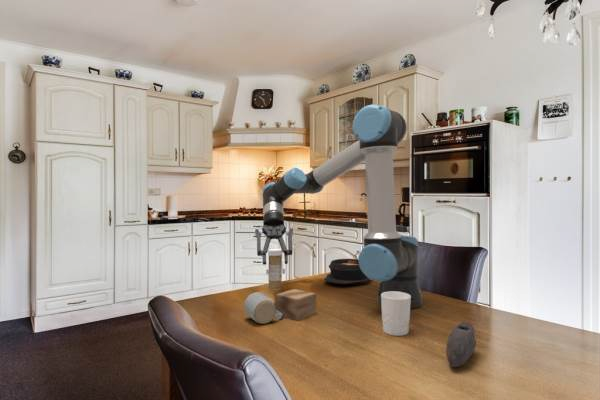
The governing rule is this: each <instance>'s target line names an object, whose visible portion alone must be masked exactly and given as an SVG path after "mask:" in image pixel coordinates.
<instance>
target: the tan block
mask: <svg viewBox="0 0 600 400" xmlns="http://www.w3.org/2000/svg"><path fill="white" fill-rule="evenodd" d="M274 301H275V302H274V303H275V304H274V305H275V308H276V310H278V311H279V312H281V313H282V314H283V315H282V317H283V318H286V319H290V320H294V321H297V322H298V321H301V320H303V319H305V318H308V317H310V316H313V315H315V314H317V294H316V293H314V292H310V291H306V290H300V289H296V288H292V289H290V290H286V291H284V292H280V293H277V294H275V298H274Z"/></svg>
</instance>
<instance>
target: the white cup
mask: <svg viewBox="0 0 600 400" xmlns="http://www.w3.org/2000/svg"><path fill="white" fill-rule="evenodd" d="M410 303H411V296H410V295H409V294H407V293H403V292H396V291H389V292H383V293H382V294H381V304H380V305H381V307H380V308H381V321H382V331H383V333H384V334H386V335H389V336H395V337H397V336H398V337H400V336H402V337H403V336H406V335H408V334H409V328H410V327H409V326H410V317H411V308H410Z"/></svg>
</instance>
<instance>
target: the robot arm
mask: <svg viewBox="0 0 600 400" xmlns="http://www.w3.org/2000/svg"><path fill="white" fill-rule="evenodd" d="M352 131H353V134H354V136H355V137H356V139H358V140H357V141H355V142H354V143H352V144H351V145H349V146H348V147H345V149H343V150H341V151H340V152H339V153H337V154H335V155H334V156H332V157H331V158H328V160H326V161H324V163H322V164H320V165H319V166H317V167H315V168H314V169H313V170H310V172H307V173H305V172H304V171H303V170H302V169H300V168H298V167H292V168H291V169H289V170H288V171H287V172H285V173H284V174H283V175H282V176H281V177H280V178H279V179H278V180H277V181H276V182H275V181H271V182H269V183H266V184H265V185H264V186H263V188H262V222H263V224H262V227H261V229H259V228H256V229H254V230H255V231H254V233H255V238H256V252H257V253H256V255H257V257H262V265H264V266H265V267H266V273H265V274H266V275H268V274H269V255H268V250H269V248H270V244H271V240H277V242H278V243H279V246H280V249H282V259H281V260H282V274H283V275H284V274H286V265H288V263H289V258H288V257H289V256H292V255H293V250H294V249H293V247H294V246H293V234H294V228H292V227H290V228H287V227H286V226H285V217H284V215H285V213H284V202H286V201H287V200H288V199H289V198H291V197H292V196H293V195H294V194H297V195H299V194H309V195H310V194H311V195H314V194H319V193H320V192H322V190H323V189H324V187H325V186H326V185H328V184H330V183H331V182H333V181H335V180H336V179H338V178H339V177H341V176H343V175H344V174H346V173H348V172H349V171H351V170H353V169H354V168H355V167H357V166H359V165H361V164H362V163H364V162H365V163H364V165H365V166H364V167H365V188H366V191H365V192H366V208H367V209H366V212H367V232H366V233H365V235H363V247H362V248H361V250H360V252H359V253H358V258H357V259H358V261H359V266H360V269H361V270H362V272H363V273H364V274H365V275H366V276H367V277H368V278H369V279H370V280H371V281H374V282H379V283H380V285H379V288H378V290H377V295H376V302H377V303H378V304H379V305H381V294H382V293H383V292H389V291H396V292H403V293H407V294H409V295H410V296H411V303H410V309H417V308H419V307H422V306H423V303H424V301H423V299H424V298H423V295H422V292H421V287H420V284H419V282H418V266H419V265H418V264H419V263H418V256H419V254H418V253H419V251H418V250H419V245H418V244H419V243H418V239H417V237H415V236H411V235H410V236H408V235H401V234H400V233H399V232H398V231H397V224H396V223H397V221H396V219H397V218H396V200H395V178H394V153H395V152H396V151H397V150H398V144H400V143H401V142H402V141H403V139H404V138H405V136H406V134H407V122H406V120H405V118H404V117H403V115H402V114H400V113H399V112H397V111H394V110H391V109H390V108H388V107H387V106H384V105H380V104H375V103H373V104H369V105H366V106H363V107H361V109H359V111H358V112H357V113H356V114H355V117H354V119H353V122H352ZM284 234H286V236H287V241H288V242H287V245H288V246H286V243H285V239H284V238H283V236H284ZM262 235H264V236H265V237H266V238H265V240H264V245H263V247H262V246H261V243H262V242H261V238H262ZM287 247H288V249H287ZM261 248H263V249H261Z"/></svg>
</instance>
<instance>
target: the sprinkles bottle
mask: <svg viewBox="0 0 600 400" xmlns="http://www.w3.org/2000/svg"><path fill="white" fill-rule="evenodd" d="M267 253H268V259H269V274H267V275H268V278H267V279H268V287H267V289H268V290H269V291H272V292H274V291H275V292H279V291H281V290H282V289H283V286H282V279H283V277H282V276H283V275H282V274H283V273H282V253H283V252H282V249H281V248H274V247H273V248H270V249H269V248H268V251H267Z"/></svg>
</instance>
